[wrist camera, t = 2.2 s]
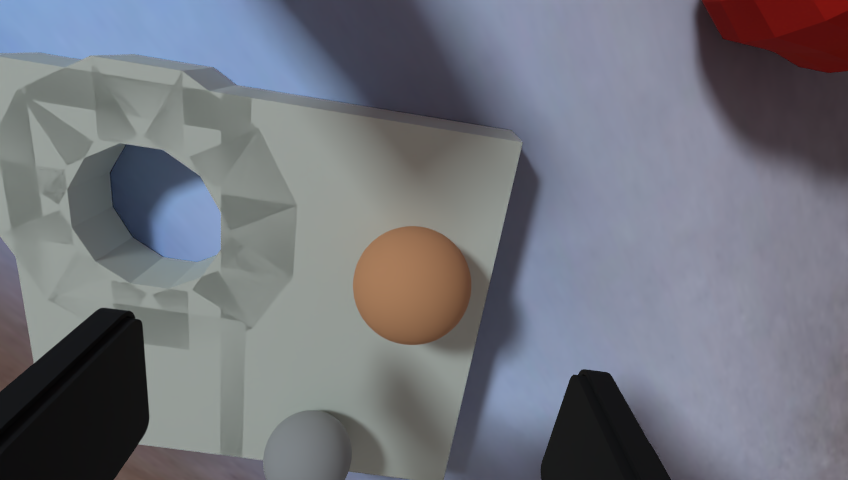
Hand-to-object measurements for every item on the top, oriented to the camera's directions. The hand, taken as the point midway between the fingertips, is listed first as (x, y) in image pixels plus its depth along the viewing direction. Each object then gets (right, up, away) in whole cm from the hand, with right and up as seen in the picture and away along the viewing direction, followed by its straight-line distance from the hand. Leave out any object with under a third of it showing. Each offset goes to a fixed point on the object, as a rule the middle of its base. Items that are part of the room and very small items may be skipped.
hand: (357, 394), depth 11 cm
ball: (+1, +2, +6) cm, 6 cm away
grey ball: (-3, -5, +9) cm, 11 cm away
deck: (-5, +2, +11) cm, 12 cm away
